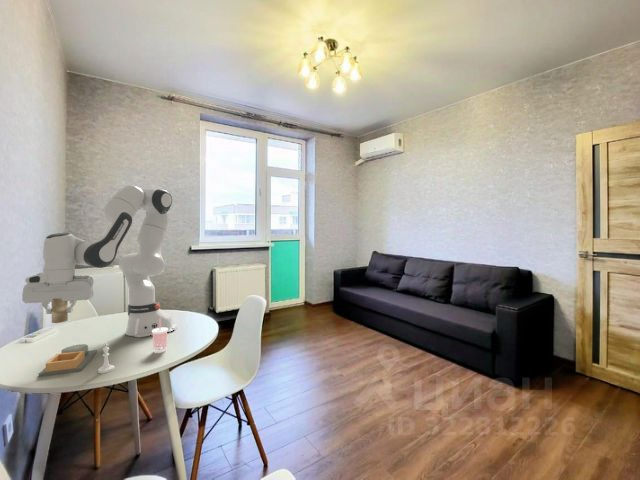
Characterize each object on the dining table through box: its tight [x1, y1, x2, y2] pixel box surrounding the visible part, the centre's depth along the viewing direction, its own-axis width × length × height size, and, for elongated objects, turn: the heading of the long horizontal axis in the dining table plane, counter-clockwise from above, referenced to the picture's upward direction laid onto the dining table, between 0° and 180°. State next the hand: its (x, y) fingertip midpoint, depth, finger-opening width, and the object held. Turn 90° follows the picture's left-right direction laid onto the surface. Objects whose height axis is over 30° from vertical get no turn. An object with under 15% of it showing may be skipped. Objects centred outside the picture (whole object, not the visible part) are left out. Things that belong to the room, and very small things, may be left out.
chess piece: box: [97, 342, 115, 374], centre depth 106 cm, size 5×5×10 cm
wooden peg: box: [51, 298, 69, 324], centre depth 109 cm, size 4×4×9 cm
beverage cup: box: [152, 318, 168, 354], centre depth 123 cm, size 6×6×14 cm
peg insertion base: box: [38, 343, 98, 378], centre depth 111 cm, size 12×17×4 cm
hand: (59, 312), depth 109 cm, fingers closed on wooden peg, 4 cm apart
